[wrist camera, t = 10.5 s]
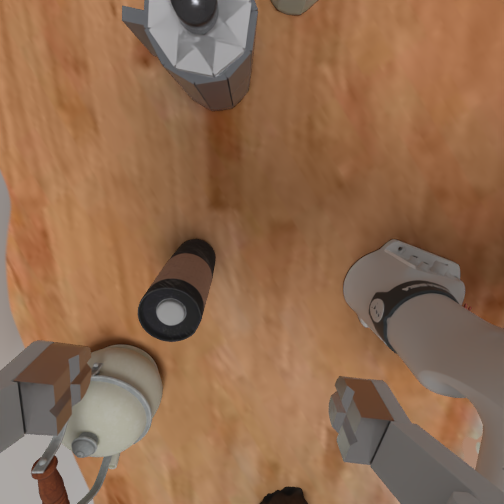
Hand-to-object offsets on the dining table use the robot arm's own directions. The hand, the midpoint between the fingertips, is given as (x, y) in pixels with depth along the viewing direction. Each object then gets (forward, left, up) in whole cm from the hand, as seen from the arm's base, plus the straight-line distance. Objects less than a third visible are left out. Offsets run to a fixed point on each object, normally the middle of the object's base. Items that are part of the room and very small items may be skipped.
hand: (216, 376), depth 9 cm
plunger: (+6, -18, -32) cm, 38 cm away
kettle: (+18, +42, -41) cm, 62 cm away
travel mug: (+6, +12, -41) cm, 43 cm away
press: (+7, -18, -41) cm, 45 cm away
